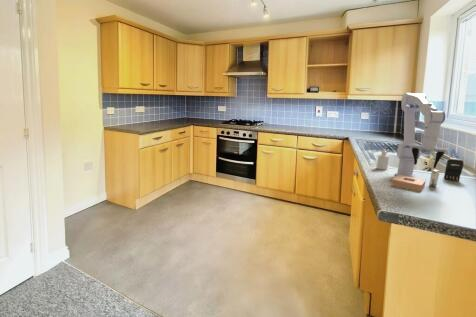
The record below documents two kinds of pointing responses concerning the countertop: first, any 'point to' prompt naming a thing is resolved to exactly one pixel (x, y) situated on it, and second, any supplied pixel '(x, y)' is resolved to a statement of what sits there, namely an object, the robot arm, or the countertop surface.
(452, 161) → the battery charger
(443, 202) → the countertop surface
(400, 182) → the hole block
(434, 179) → the steel peg
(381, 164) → the eye dropper bottle
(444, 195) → the countertop surface
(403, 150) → the robot arm
